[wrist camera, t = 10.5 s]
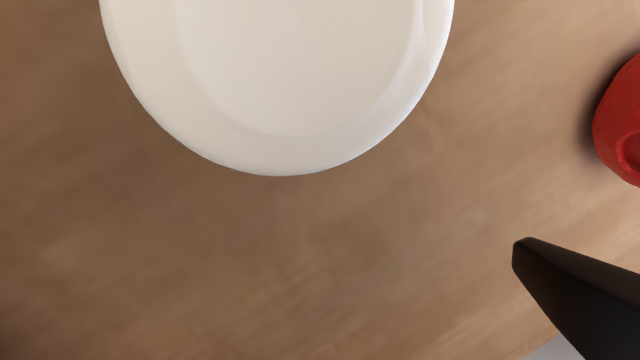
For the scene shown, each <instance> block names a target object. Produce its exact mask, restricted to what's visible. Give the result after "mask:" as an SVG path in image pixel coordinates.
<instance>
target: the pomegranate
mask: <svg viewBox="0 0 640 360" xmlns="http://www.w3.org/2000/svg"><path fill="white" fill-rule="evenodd" d="M592 133H593V141H594V145H595V148H596V152H597V154H598V156H599V158H600V159H601V160H602V162H603V163H604V164H605V165H606V166H607V167H608V168H610V169H611V170H612V171H613V172H614V173H616V174H617V175H618V176H620V178H622V179H623V180H625V181H626V182H628V183H629V184H632V185H634V186H637V187H639V188H640V53H639V54H637V55H635V56H634V57H633V58H632V59H630V60H629V61H628V62H627V63H626V64H625V65H624V66H623V67H622V68H621V69H620V70H619V72H618V73H617V74H616V76H615V77H614V79H613V81H612V82H611V84H610V86H609V87H608V89H607V90H606V92H605V94H604V96H603V98H602V99H601V101H600V103H599V105H598V107H597V109H596V112H595V116H594V118H593V123H592Z"/></svg>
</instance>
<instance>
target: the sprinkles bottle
mask: <svg viewBox="0 0 640 360" xmlns="http://www.w3.org/2000/svg"><path fill="white" fill-rule="evenodd" d="M99 5H100V11H101V16H102V22H103V27H104V30H105V33H106V36H107V40H108V43H109V45H110V48H111V51H112V53H113V56H114V58H115V60H116V62H117V64H118V66H119V69H120V71H121V73H122V75H123V77H124V78H125V80H126V82H127V83H128V85H129V87H130V88H131V90H132V92H133V93H134V95H135V97H136V98H137V99H138V101H139V102H140V103H141V105H142V106H143V107H144V109H145V110H146V111H147V112H148V113H149V114H150V115H151V116H152V117H153V119H154V120H155V121H156V122H157V123H158V124H159V125H160V126H161V127H162V128H163V129H164V130H166V131H167V132H168V133H169V134H170V135H172V136H173V137H174V138H175V139H177V140H178V141H179V142H181V143H182V144H183V145H185V146H186V147H187V148H189V149H190V150H192V151H194V152H195V153H197V154H199V155H200V156H202V157H204V158H206V159H209V160H211V161H212V162H214V163H217V164H220V165H223V166H226V167H229V168H232V169H235V170H238V171H242V172H247V173H251V174H256V175H265V176H294V175H304V174H309V173H315V172H319V171H323V170H326V169H330V168H332V167H335V166H338V165H340V164H343V163H345V162H347V161H350V160H352V159H354V158H356V157H357V156H359V155H361V154H362V153H364V152H366V151H367V150H369V149H371V148H372V147H374V146H375V145H376V144H378V143H379V142H380V141H381V140H382V139H384V138H385V137H386V136H387V135H388V134H390V133H391V132H392V131H393V130H394V129H395V128H396V127H397V126H398V125H399V124H400V123H401V122H402V121H403V120H404V119H405V118H406V117H407V116H408V114H409V113H410V112H411V111H412V110H413V108H414V107H415V105H416V104H417V103H418V101H419V100H420V99H421V97H422V95H423V94H424V92H425V90H426V88H427V87H428V85H429V83H430V81H431V80H432V78H433V76H434V74H435V72H436V69H437V67H438V65H439V62H440V60H441V57H442V54H443V51H444V49H445V46H446V43H447V39H448V35H449V31H450V27H451V22H452V16H453V10H454V0H99Z"/></svg>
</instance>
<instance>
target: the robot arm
mask: <svg viewBox="0 0 640 360" xmlns="http://www.w3.org/2000/svg"><path fill="white" fill-rule="evenodd" d="M512 268H513V271H514V273H515V274H516V275H517V277H518V278H519V279H520V281H521V282H522V283H523V285H524V286H525V287H526V289H527V290H528V292H529V293H530V294H531V296H532V297H533V298H534V300H535V301H536V302H537V304H538V305H539V306H540V308H541V309H542V310H543V312H544V313H545V314H546V316H547V317H548V318H549V319H550V321H551V322H552V323H553V324H554V325H555V327H556V328H557V329H558V330H559V331H560V332H561V333H562V334H563V336H564V337H565V338H566V339H567V340H568V341H569V342H570V343H571V344H572V345H573V346H574V347H575V349H576V350H577V351H578V352H579V353H580V354H581V355H582V356H583V358H585V360H640V274H638V273H635V272H632V271H629V270H626V269H623V268H620V267H618V266H615V265H612V264H609V263H606V262H603V261H600V260H597V259H594V258H591V257H588V256H585V255H582V254H580V253H577V252H574V251H571V250H568V249H565V248H562V247H559V246H556V245H553V244H550V243H547V242H545V241H542V240H539V239H536V238H533V237H526V238H523V239H521V240H518V241H516V242H515V243H514V244H513V253H512Z"/></svg>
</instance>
